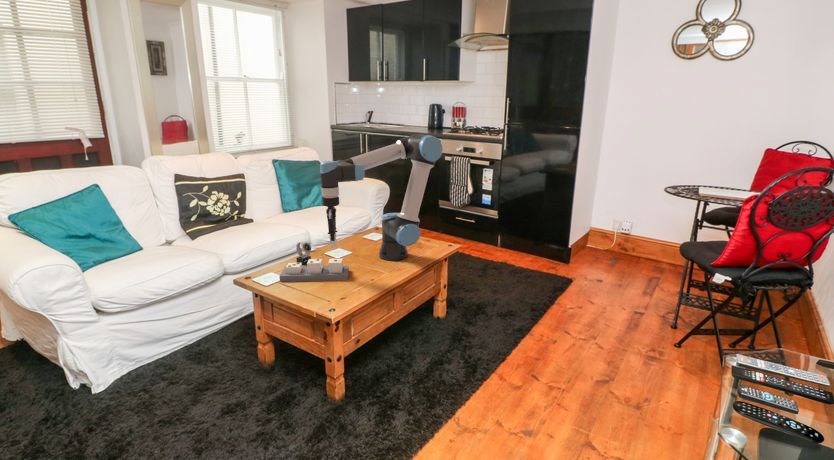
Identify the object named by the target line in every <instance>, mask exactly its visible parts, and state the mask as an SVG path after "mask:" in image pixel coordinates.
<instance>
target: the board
mask: <svg viewBox="0 0 834 460" xmlns="http://www.w3.org/2000/svg"><path fill="white" fill-rule="evenodd" d="M322 267H323V269H322V272H321V273H309V274H308V271H307V265H306V266H305V265H302V272H301V274H286V266H284V268H283V269H282V271H281V272H280V274H279V282H305V281H307V282H308V281H309V282H310V281H311V282H312V281H313V282H314V281H347V280H348V278H349V273H350V272H349V271H350V266H349V265H343V270H342V273H329V269H328V265H322Z"/></svg>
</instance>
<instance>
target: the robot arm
mask: <svg viewBox="0 0 834 460" xmlns="http://www.w3.org/2000/svg"><path fill="white" fill-rule="evenodd" d="M441 142H442V141H441V140H440V139H439V138H438V137H436V136H433V135H432V134H431V135H430V134H422V133H416V134H415V133H414V134H411V135H409V136H407V137H403V138H401V139H398V140H396V142H395V143H392V144H390V145H386V146H382V147H380V148H377V149H373V150H371V151H368V152H364V153H362V154H359V155H357V156H356V155H355V156H352V157H349V158H347V159H344V160H342V159H338V160H336V161H335V160H324V161H321V162H320V164H319V173H320V185H321V187H320V189H319V191H320V192H321V196H322V197H321V202H322V203H321V205H322V206H323V207H326V209H325V210H326V211H325V212H326V219H327V227H328V232H327V234H328V235H329V246H330V247H329V248H337V233H338V230H337V220H336V219H337V218H336V217H337V208H335V207H337V206H339V205H340V197H339V195H340V190H339V189H340V187H339V183H346V182H347V183H348V182H358V181H363V180H364V179H365V177H366V176H365V175H366V173H365V171H366V170H370V169H372V168H375V167H378V166H381V165H384V164H387V163H390V162H393V161H396V160H398V159H402V160H406V159H409V158H410V161H411V163H412V168H411V171H410V175H409V179H408V183H407V186H406V191H405V194H404V198H403V201H402V206H401V210H400V212H388V213H387V212H386V213H384V214H382V215H381V216H382V217H381V239H382V240H381V246H380V248H379V252H378V257H379V258H380V259H381V260H386V261H401V259H402V260H404V258H405V259H407V258H408V257H407V256H409V255H408V254H409V251H408V249H407V247H411V246H413V245H415V244H416V243H417V242H418V241H419V240H420V238H421V229H420V228H419V226H420V222H421V221H420V218H419V213H420V210H421V209H420V208H421V205H422V202H423V198H424V195H425V194H424V193H425V190H426V187H427V183H428V178H429V175H430V171H431V169H432V168H434V167H435V164H436V161H438V160H439V159H440V158H441V157H442V154H443V145H442V143H441ZM406 257H407V258H406Z"/></svg>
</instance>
